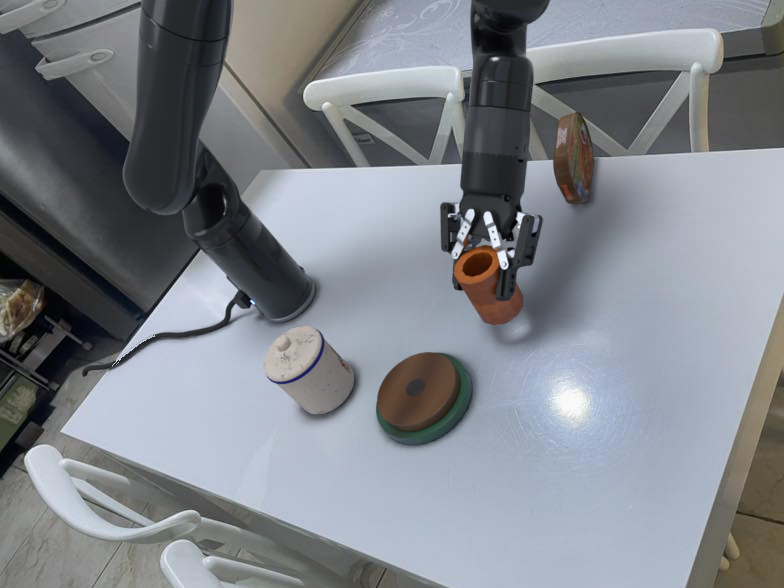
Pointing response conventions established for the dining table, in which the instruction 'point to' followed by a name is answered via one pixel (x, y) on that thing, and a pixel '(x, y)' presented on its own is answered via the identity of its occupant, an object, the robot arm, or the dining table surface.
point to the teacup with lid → (309, 370)
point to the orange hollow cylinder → (486, 285)
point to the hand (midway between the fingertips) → (482, 294)
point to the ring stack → (423, 397)
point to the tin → (573, 158)
